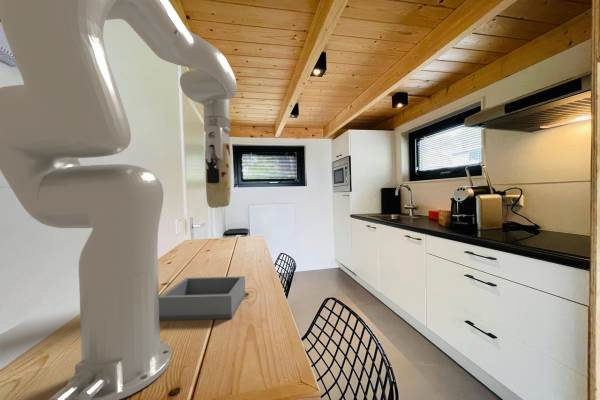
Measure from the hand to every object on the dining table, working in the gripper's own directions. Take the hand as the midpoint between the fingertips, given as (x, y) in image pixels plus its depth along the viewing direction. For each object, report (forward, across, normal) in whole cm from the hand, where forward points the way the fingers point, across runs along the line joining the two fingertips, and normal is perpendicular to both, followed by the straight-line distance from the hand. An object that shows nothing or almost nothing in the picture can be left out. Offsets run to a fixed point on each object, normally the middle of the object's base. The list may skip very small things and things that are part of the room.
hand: (218, 183), depth 72 cm
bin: (+31, -14, -1) cm, 34 cm away
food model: (+7, 0, 0) cm, 7 cm away
